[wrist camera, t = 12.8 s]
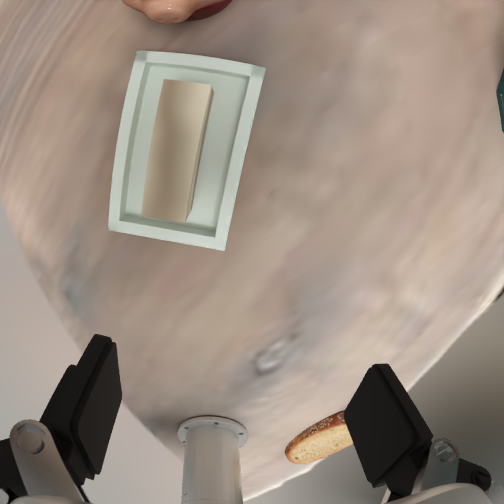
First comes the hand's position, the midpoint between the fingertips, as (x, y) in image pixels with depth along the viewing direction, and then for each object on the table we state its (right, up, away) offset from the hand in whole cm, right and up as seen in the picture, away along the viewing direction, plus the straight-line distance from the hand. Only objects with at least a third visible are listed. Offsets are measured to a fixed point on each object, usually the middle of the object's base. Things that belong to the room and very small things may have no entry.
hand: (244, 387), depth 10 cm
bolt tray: (-7, +15, +18) cm, 25 cm away
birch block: (-7, +15, +18) cm, 24 cm away
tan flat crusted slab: (+16, -32, +40) cm, 54 cm away
